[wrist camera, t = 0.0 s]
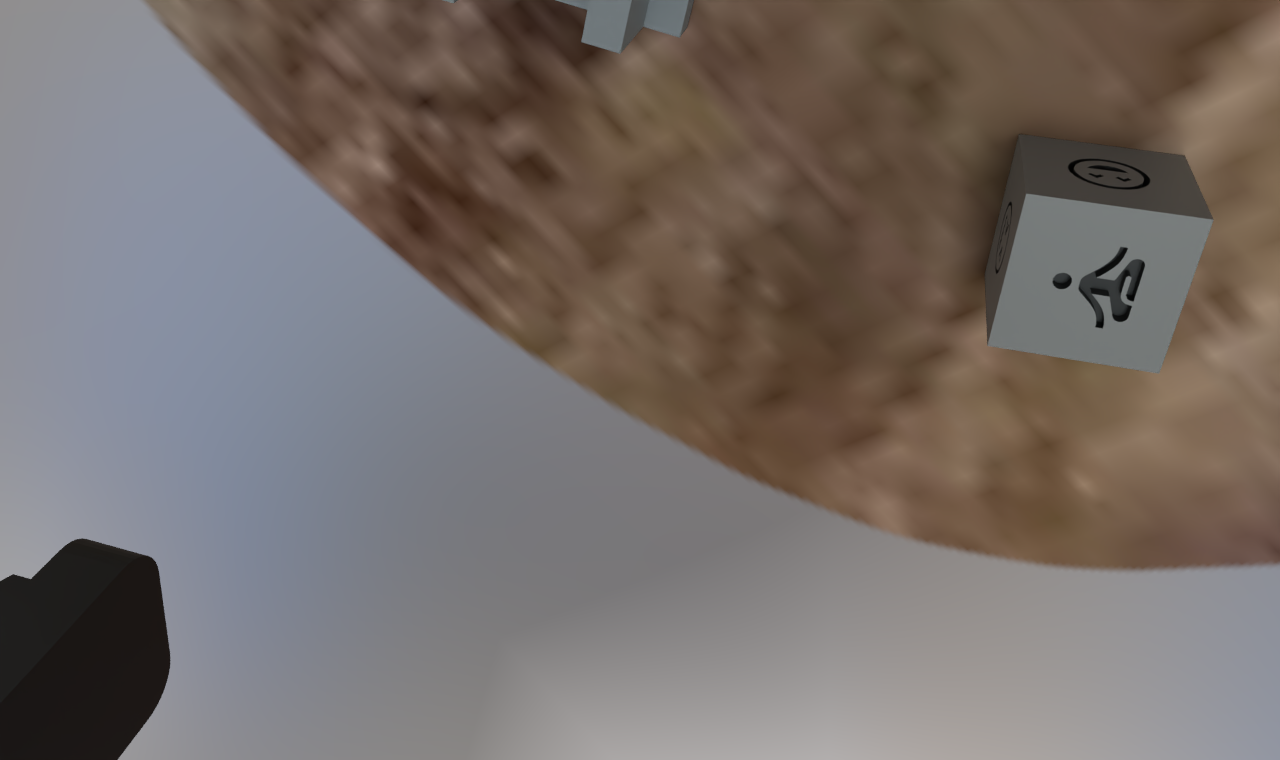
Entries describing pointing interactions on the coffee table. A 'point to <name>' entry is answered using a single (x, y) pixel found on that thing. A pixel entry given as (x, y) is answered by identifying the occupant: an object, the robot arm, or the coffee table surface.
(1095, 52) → the coffee table surface
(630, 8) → the ribbed grey platform
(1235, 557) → the coffee table surface
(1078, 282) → the dice cube
